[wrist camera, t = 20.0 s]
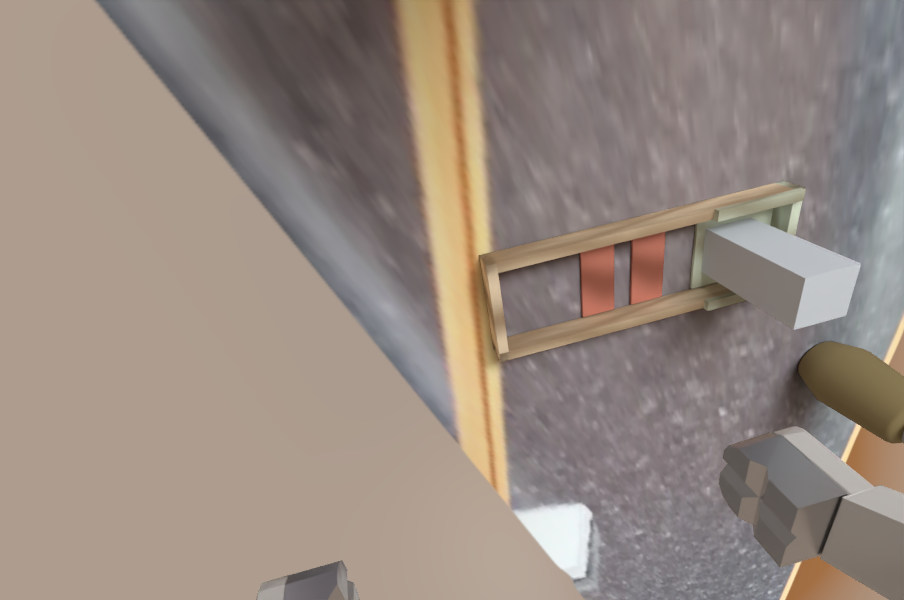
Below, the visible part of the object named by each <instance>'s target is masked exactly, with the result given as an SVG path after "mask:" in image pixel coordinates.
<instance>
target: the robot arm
mask: <svg viewBox="0 0 904 600" xmlns="http://www.w3.org/2000/svg"><path fill="white" fill-rule="evenodd" d="M723 459H724V460H725V461H726V462H727V463H728V464H727V465H726V466H725V467H724V469H723V470H722V471H721V472H720V479H719V485H720V488H721V492H722V495H723V497H724V499H725V501H726V502H727V504H728V506H729V507H730V508H731V510H732V511H733V512H734V513H735V514H736V516H737V517H738V518H740V519H742V520H744V521H746V522H748V523H750V524H752V525H753V531H754V537H755V538H756V540H757V541H758V542H759V543H760V544H761V546H762V547H763V548H764V549H765V550H766V551H767V553H768V554H769V555H770V556H771V557H772V559H773V560H774V561H775V562H776V563H777V564H778V566H779V567H783V566H787V565H790V564H794V563H797V562H800V561H804V560H807V559H810V558H814V557H818V556H821V557H820V559H822V560H824V561H825V562H827V563H828V564H830V565H832V566H834V567H835V568H837V569H839V570H840V571H842V572H844V573H845V574H847V575H849V576H850V577H852V578H854V579H855V580H857V581H859V582H860V583H862V584H864V585H865V586H867V587H869V588H870V589H872V590H874V591H875V592H877V593H879V594H880V595H882V596H884V597H886V598H887V599H889V600H904V494H903V493H900V492H898V491H895V490H893V489H890V488H887V487H885V486H882V485H880V486H875V487H874V486H872V485H871V484H870V483H869V482H867V481H866V480H865V479H864V478H863V477H861V476H860V475H859V474H858V473H857V472H855V471H854V470H853V469H852V468H850V467H849V466H848V465H847V464H846V463H845V462H843V461H842V460H841V459H840V458H838V457H837V456H836V455H835V454H834V453H832V452H831V451H830V450H829V449H828V448H826V447H825V446H824V445H823V444H821V443H820V442H819V441H818V440H817V439H815V438H814V437H813V436H812V435H810V434H809V433H808V432H807V431H806V430H804V429H802V428H800V427H797V426H793V427H788V428H785V429H782V430H779V431H775V432H772V433H767V434H763V435H760V436H757V437H754V438H751V439H748V440H744V441H741V442H738V443H735V444H732V445H729V446H728V447H727V448H726V449H724V454H723ZM256 600H360V599H359V596H358V592H357V589H356V587H355V585H354V583H353V582H350V581H348V580H347V569H346V567H345V565H344V563H343V561H338V562H334V563H331V564H328V565H324V566H320V567H317V568H314V569H310V570H306V571H303V572H300V573H296V574H292V575H287V576H284V577H281V578H278V579H274V580H271V581H267V582H264V583H262V585H261V587H260V589H259V591H258V594H257V599H256Z"/></svg>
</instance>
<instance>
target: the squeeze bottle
mask: <svg viewBox="0 0 904 600" xmlns="http://www.w3.org/2000/svg"><path fill="white" fill-rule="evenodd" d="M798 372H799V374H800V376H801V377H802V379H803V380H804V382H805V383H806V385H807V386H808V387H809V389H810V390H811V392H812V393H813V395H814V396H815V397H816V399H817V400H819V401H820V402H822V403H824V404H825V405H827V406H829V407H830V408H832V409H834V410H835V411H837V412H839V413H840V414H842V415H844V416H845V417H847V418H848V419H850V420H852V421H853V422H855V423H857V424H858V425H860V426H862V427H863V428H865V429H867V430H868V431H870V432H872V433H873V434H875V435H876V436H878V437H880V438H881V439H883V440H885V441H887V442H890V443H902V442H903V443H904V376H903V375H901V374H900V373H898V372H897V371H895V370H894V369H893V368H891V367H890V366H889V365H887V364H886V363H885V362H883V361H882V360H880V359H879V358H878V357H876V356H875V355H873V354H872V353H871V352H869V351H866V350H864V349H861V348H857V347H853V346H849V345H845V344H841V343H837V342H833V341H828V342H823V343H820V344H818V345H816V346H815V347H813V348H812V349H810V350H809V351H808V352H807V353H806V354H805V356H804V357H803V358H802V360H801V362H800V364H799V368H798Z"/></svg>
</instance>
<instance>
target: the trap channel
mask: <svg viewBox="0 0 904 600" xmlns="http://www.w3.org/2000/svg"><path fill="white" fill-rule="evenodd" d="M805 191H806V189H805V187H803V186H799V185H796V184H793V183H790V182H786V181H782V182H778V183H773V184H769V185H765V186H761V187H757V188H753V189H749V190H745V191H741V192H737V193H733V194H728V195H724V196H720V197H716V198H712V199H708V200H704V201H700V202H696V203H692V204H688V205H683V206H679V207H675V208H671V209H667V210H663V211H659V212H655V213H651V214H647V215H643V216H638V217H634V218H630V219H626V220H622V221H618V222H614V223H610V224H606V225H602V226H598V227H593V228H589V229H585V230H581V231H577V232H573V233H569V234H565V235H561V236H557V237H553V238H549V239H544V240H540V241H536V242H532V243H528V244H524V245H520V246H516V247H512V248H508V249H504V250H499V251H495V252H491V253H487V254H483V255H479V257H480V263H481V270H482V276H483V283H484V289H485V295H486V302H487V308H488V315H489V321H490V328H491V334H492V340H493V347H494V350H495V352H496V354H497V356H498V358H499V360H500V362H503V361H507V360H510V359H514V358H518V357H522V356H525V355H529V354H533V353H537V352H540V351H544V350H548V349H552V348H555V347H559V346H563V345H567V344H570V343H574V342H578V341H582V340H585V339H589V338H593V337H597V336H600V335H604V334H608V333H612V332H615V331H619V330H623V329H627V328H630V327H634V326H638V325H642V324H645V323H649V322H653V321H656V320H660V319H664V318H668V317H671V316H675V315H679V314H683V313H686V312H690V311H694V310H698V309H701V308H704V309H705V310H707V311H709V310H713V309H717V308H721V307H724V306H728V305H732V304H736V303H739V302H743V301H747V300H745V299H743V298H742V297H740V296H739V295H737V294H736V293H734V292H732V291H731V290H729V289H728V288H726V287H724V286H723V285H721V284H720V283H718V282H716V281H715V280H713V279H712V278H710V277H708V276H707V275H705V274H704V273H702V272H701V269H702V260H703V250H704V241H705V231H706V228H710V227H714V226H718V225H722V224H726V223H730V222H734V221H738V220H742V219H746V218H750V217H751V218H753V219H755V220H758V221H760V222H763V223H765V224H767V225H770V226H772V227H775V228H777V229H779V230H782V231H784V232H786V233H789V234H791V235H794V236H795V233H796V229H797V224H798V219H799V214H800V209H801V205H802V201H804V196H805ZM693 224H696V225H695V235H694V246H693V257H692V267H691V278H690V288H691V289H689V290H685V291H681V292H677V293H673V294H670V295H666V296H662V281H663V264H664V248H665V231H669V230H673V229H677V228H681V227H685V226H689V225H693ZM629 240H631V276H630V304H631V305H628V306H624V307H620V308H616V309H614V244H617V243H621V242H625V241H629ZM577 253H580V277H581V303H582V318H578V319H574V320H571V321H567V322H563V323H559V324H555V325H552V326H548V327H544V328H540V329H536V330H532V331H529V332H525V333H521V334H517V335H513V336H510V337H507V335H506V327H505V320H504V313H503V305H502V298H501V291H500V283H499V276H498V273H501V272H505V271H509V270H513V269H517V268H521V267H525V266H529V265H533V264H537V263H541V262H545V261H549V260H553V259H557V258H561V257H565V256H569V255H573V254H577Z"/></svg>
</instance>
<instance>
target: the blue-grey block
mask: <svg viewBox="0 0 904 600" xmlns="http://www.w3.org/2000/svg"><path fill="white" fill-rule="evenodd" d="M860 266H861V263H858V262H856V261H853V260H851V259H849V258H846V257H844V256H842V255H839V254H837V253H834V252H832V251H830V250H827V249H825V248H822V247H820V246H818V245H815V244H813V243H810V242H808V241H806V240H803V239H801V238H798V237H796V236H794V235H791V234H789V233H786V232H784V231H782V230H779V229H777V228H775V227H772V226H770V225H767V224H765V223H763V222H760V221H758V220H755V219H753V218H751V217H750V218H746V219H742V220H738V221H734V222H730V223H726V224H722V225H718V226H714V227H710V228H706V231H705V241H704V250H703V260H702V269H701V272H702V273H704V274H705V275H707V276H708V277H710V278H712V279H713V280H715V281H716V282H718V283H720V284H721V285H723V286H724V287H726V288H728V289H729V290H731V291H732V292H734V293H736V294H737V295H739V296H740V297H742V298H743V299H745V300H747V301H748V302H750V303H751V304H753V305H755V306H756V307H758V308H759V309H761V310H763V311H764V312H766V313H767V314H769V315H771V316H772V317H774V318H775V319H777V320H779V321H780V322H782V323H783V324H785V325H786V326H788V327H790V328H791V329H793V330H795V329H799V328H803V327H806V326H810V325H813V324H817V323H821V322H824V321H828V320H832V319H835V318H839V317H842V316H846V314H847V310H848V307H849V303H850V300H851V297H852V293H853V290H854V286H855V283H856V280H857V276H858V273H859V269H860Z"/></svg>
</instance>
